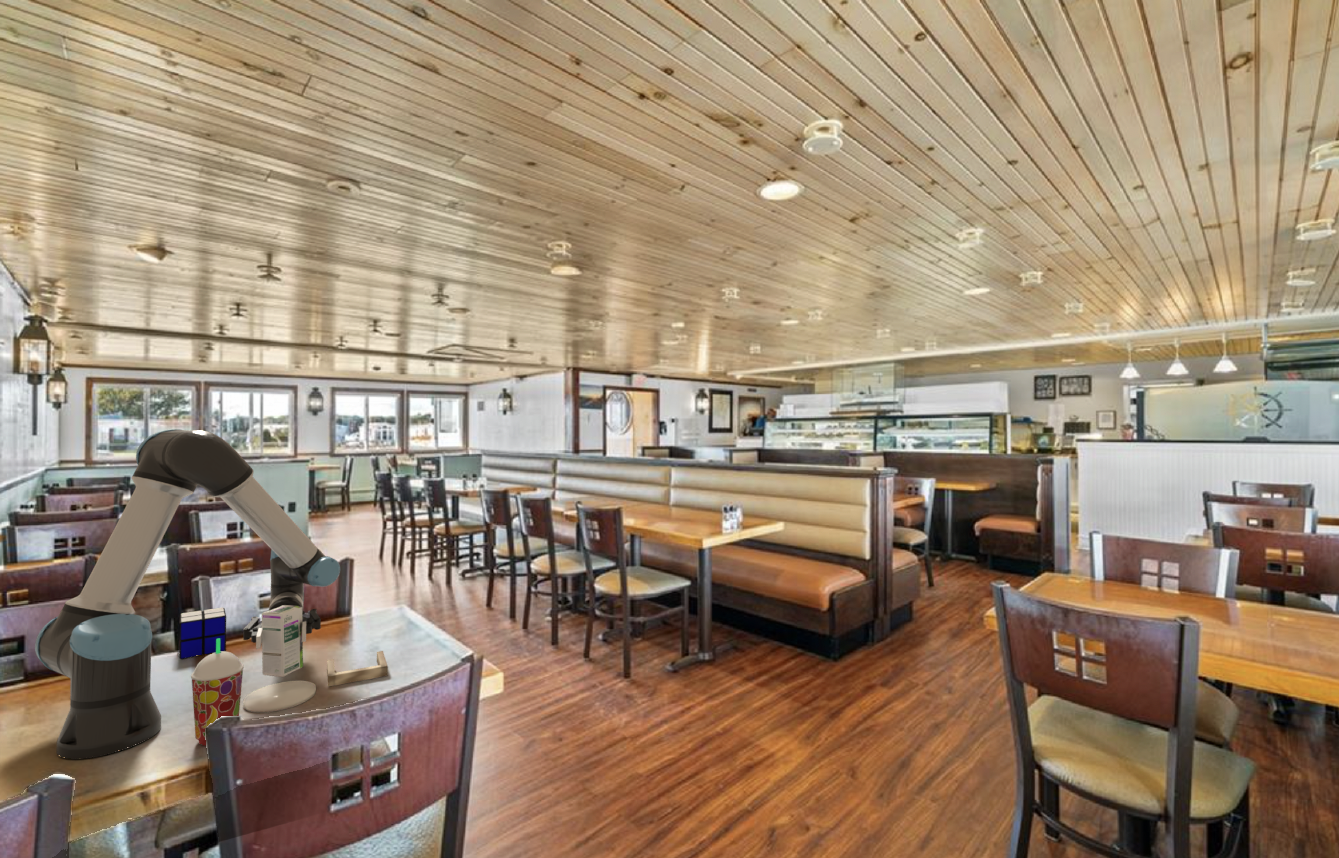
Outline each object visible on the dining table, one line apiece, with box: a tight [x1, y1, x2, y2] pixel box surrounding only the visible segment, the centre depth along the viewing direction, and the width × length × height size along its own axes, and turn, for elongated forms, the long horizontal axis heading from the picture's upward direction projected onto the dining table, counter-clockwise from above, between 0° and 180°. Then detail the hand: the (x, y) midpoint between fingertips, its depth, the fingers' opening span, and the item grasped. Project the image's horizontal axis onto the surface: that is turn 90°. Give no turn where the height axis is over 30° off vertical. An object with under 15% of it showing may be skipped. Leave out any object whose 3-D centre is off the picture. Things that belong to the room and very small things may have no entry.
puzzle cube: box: [178, 606, 227, 660], centre depth 165 cm, size 10×10×10 cm
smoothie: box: [190, 638, 244, 747], centre depth 119 cm, size 8×8×20 cm
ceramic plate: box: [242, 680, 317, 713], centre depth 137 cm, size 14×14×1 cm
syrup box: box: [261, 605, 304, 678], centre depth 137 cm, size 6×6×14 cm
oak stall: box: [326, 650, 389, 688], centre depth 151 cm, size 13×12×2 cm
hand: (281, 639), depth 133 cm, fingers closed on syrup box, 8 cm apart
